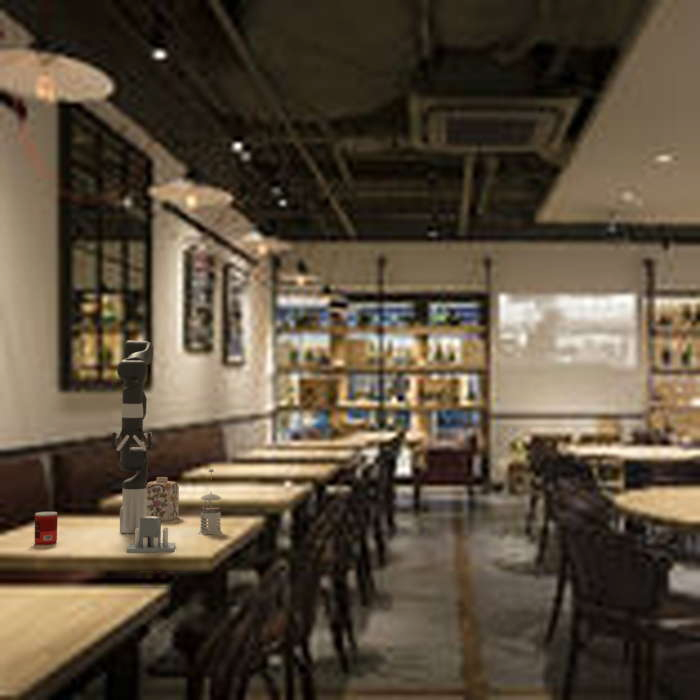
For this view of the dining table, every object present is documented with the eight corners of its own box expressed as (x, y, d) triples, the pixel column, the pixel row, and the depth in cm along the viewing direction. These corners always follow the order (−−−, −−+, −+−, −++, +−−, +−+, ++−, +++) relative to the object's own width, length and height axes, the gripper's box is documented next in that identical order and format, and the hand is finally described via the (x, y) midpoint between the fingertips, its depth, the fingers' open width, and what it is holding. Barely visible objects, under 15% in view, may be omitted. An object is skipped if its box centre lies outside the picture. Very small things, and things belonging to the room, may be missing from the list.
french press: (202, 535, 368) (203, 470, 369) (193, 531, 379) (193, 468, 380) (226, 534, 373) (227, 469, 374) (216, 529, 383) (217, 467, 384)
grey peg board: (126, 552, 331) (126, 531, 331) (130, 546, 343) (130, 526, 343) (173, 551, 333) (173, 530, 333) (175, 545, 345) (175, 525, 345)
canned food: (61, 542, 351) (61, 512, 351) (47, 545, 343) (48, 515, 344) (43, 541, 353) (44, 511, 354) (29, 544, 346) (30, 513, 346)
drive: (139, 546, 335) (140, 517, 336) (144, 544, 340) (144, 515, 341) (156, 547, 335) (156, 518, 335) (160, 544, 340) (161, 516, 340)
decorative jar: (143, 520, 407) (144, 478, 408) (153, 516, 419) (154, 475, 419) (170, 521, 405) (170, 478, 406) (179, 517, 417) (180, 476, 417)
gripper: (110, 416, 340) (109, 462, 340) (150, 416, 340) (150, 462, 340) (114, 415, 347) (114, 459, 347) (154, 415, 347) (153, 459, 348)
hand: (132, 461), depth 344 cm, fingers open, 8 cm apart
